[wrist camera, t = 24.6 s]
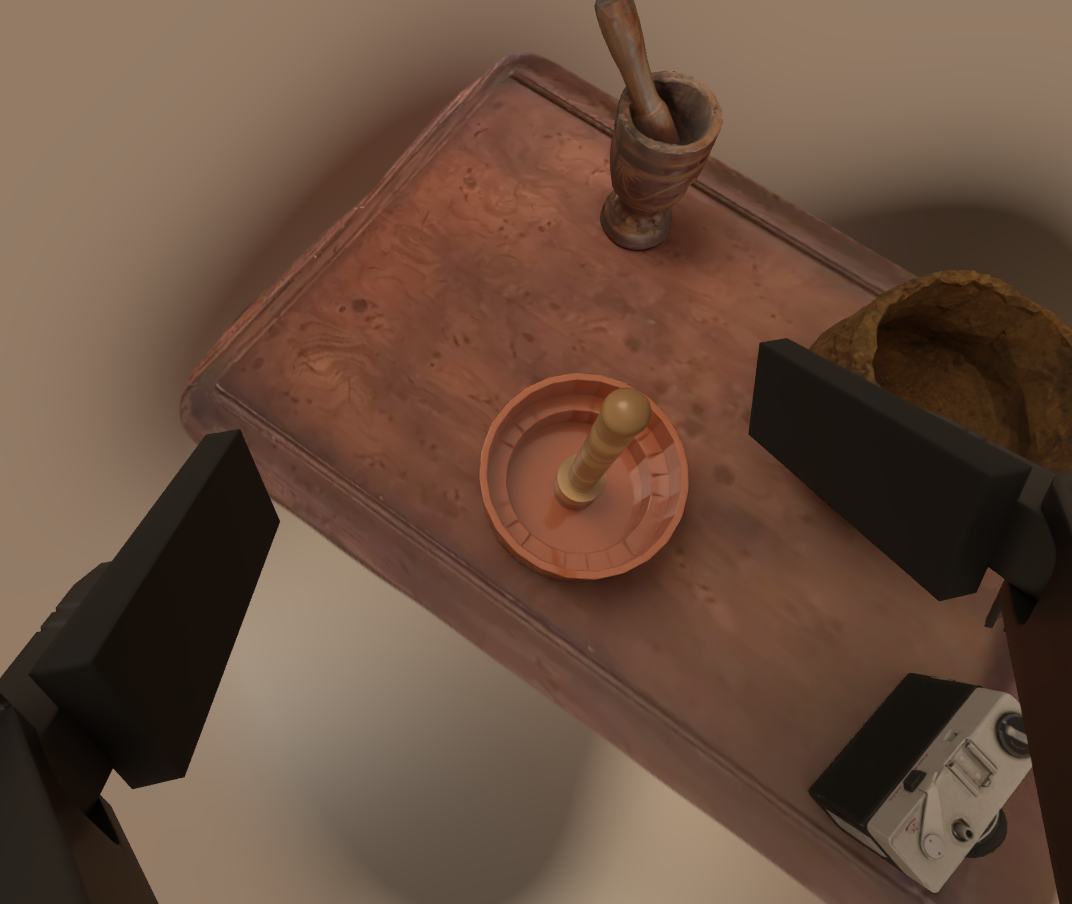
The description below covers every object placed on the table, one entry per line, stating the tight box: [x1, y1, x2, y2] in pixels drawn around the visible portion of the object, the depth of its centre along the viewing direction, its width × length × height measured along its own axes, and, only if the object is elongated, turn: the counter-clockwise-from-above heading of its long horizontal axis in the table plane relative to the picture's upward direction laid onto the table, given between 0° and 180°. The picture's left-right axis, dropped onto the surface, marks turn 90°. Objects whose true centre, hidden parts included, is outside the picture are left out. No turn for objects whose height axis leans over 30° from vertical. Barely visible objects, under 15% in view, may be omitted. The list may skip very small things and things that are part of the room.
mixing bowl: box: [479, 373, 689, 582], centre depth 45 cm, size 16×16×7 cm
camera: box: [808, 673, 1032, 893], centre depth 39 cm, size 14×9×10 cm, turn 123°
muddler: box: [553, 387, 651, 510], centre depth 37 cm, size 4×4×21 cm
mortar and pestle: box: [595, 0, 723, 250], centre depth 46 cm, size 12×9×20 cm
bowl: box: [810, 270, 1072, 474], centre depth 44 cm, size 19×19×15 cm
